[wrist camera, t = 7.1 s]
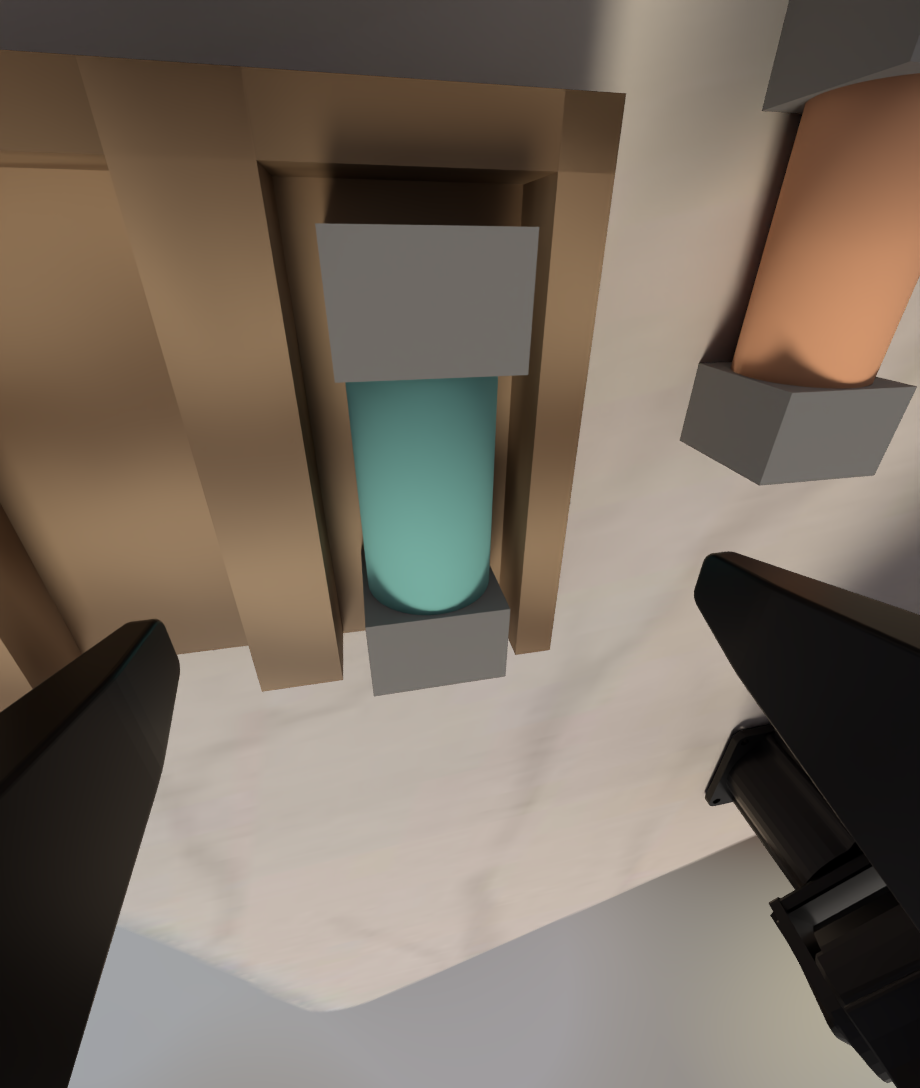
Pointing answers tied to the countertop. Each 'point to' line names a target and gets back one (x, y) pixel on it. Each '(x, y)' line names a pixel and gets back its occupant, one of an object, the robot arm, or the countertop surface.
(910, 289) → the orange capped cylinder
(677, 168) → the countertop surface
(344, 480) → the wooden tray
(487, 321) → the teal capped cylinder
